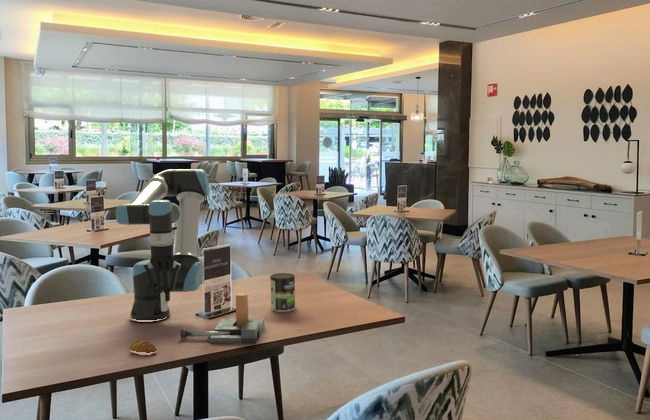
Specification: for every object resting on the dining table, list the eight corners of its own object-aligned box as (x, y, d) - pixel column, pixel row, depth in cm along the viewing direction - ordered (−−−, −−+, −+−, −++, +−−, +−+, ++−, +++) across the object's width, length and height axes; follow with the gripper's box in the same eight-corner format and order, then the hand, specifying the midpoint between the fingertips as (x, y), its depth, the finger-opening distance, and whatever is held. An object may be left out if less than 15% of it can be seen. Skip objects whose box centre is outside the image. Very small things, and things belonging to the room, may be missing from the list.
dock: (206, 343, 197) (205, 329, 196) (218, 326, 215) (218, 313, 214) (255, 343, 196) (255, 329, 195) (264, 326, 214) (264, 313, 213)
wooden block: (238, 329, 211) (236, 293, 209) (249, 330, 210) (248, 293, 209) (235, 333, 206) (234, 296, 205) (247, 334, 206) (246, 296, 204)
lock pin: (180, 339, 200) (180, 331, 200) (183, 336, 203) (182, 328, 203) (228, 339, 199) (228, 331, 199) (230, 336, 202) (230, 328, 202)
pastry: (162, 352, 190) (161, 341, 189) (147, 359, 184) (146, 348, 183) (142, 347, 194) (141, 337, 194) (126, 354, 188) (126, 343, 188)
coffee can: (300, 307, 238) (299, 274, 237) (284, 313, 230) (283, 279, 229) (282, 303, 245) (281, 271, 243) (265, 309, 236) (264, 276, 235)
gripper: (139, 246, 195) (142, 313, 197) (176, 246, 194) (179, 313, 196) (147, 242, 202) (150, 307, 204) (183, 242, 201) (185, 307, 204)
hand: (164, 310), depth 200 cm, fingers closed
